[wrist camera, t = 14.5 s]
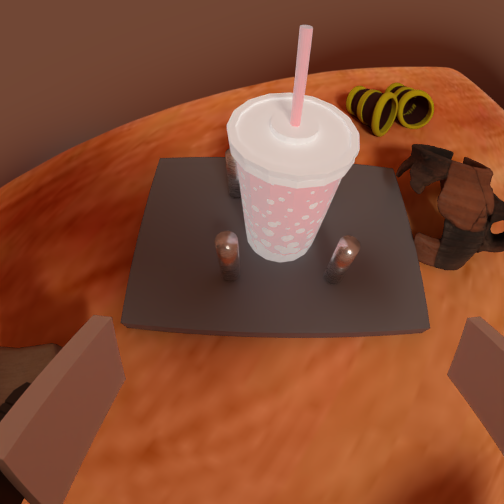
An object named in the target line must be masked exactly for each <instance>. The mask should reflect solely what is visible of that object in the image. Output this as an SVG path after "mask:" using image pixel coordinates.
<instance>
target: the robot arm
mask: <svg viewBox="0 0 504 504" xmlns="http://www.w3.org/2000/svg"><path fill="white" fill-rule="evenodd" d="M447 375H448V377H449V378H450V379H451V381H452V382H453V383H454V385H455V386H456V387H457V389H458V390H459V391H460V393H461V394H462V395H463V397H464V398H465V400H466V401H467V402H468V404H469V405H470V407H471V408H472V409H473V411H474V412H475V414H476V415H477V417H478V418H479V419H480V421H481V422H482V424H483V425H484V427H485V428H486V430H487V431H488V433H489V434H490V436H491V437H492V439H493V440H494V442H495V443H496V445H497V446H498V448H499V449H500V451H501V452H502V454H503V456H504V337H503V336H502V335H501V334H500V333H499V332H498V331H496V330H495V329H494V328H493V327H492V326H491V325H489V324H488V323H487V322H486V321H485V320H484V319H482V318H481V317H473V318H467V321H466V324H465V327H464V330H463V333H462V336H461V339H460V342H459V345H458V348H457V351H456V353H455V356H454V359H453V361H452V364H451V366H450V369H449V371H448V374H447ZM125 379H126V378H125V375H124V371H123V367H122V362H121V358H120V354H119V349H118V345H117V340H116V335H115V331H114V325H113V320H112V317H107V316H99V315H93V316H92V317H91V318H90V319H89V320H88V321H87V322H86V323H85V324H84V325H83V326H82V328H81V329H80V330H79V331H78V332H77V333H76V334H75V335H74V336H73V337H72V338H71V339H70V340H69V342H68V343H67V344H66V345H65V346H64V347H63V348H62V349H61V350H60V352H59V353H58V354H57V355H56V356H55V357H54V358H53V359H52V360H51V362H50V363H49V364H48V365H47V366H46V367H45V368H44V370H43V371H42V372H41V373H40V374H39V375H38V377H37V378H36V379H35V380H34V381H33V382H32V383H29V382H26V383H24V384H23V385H21V386H19V387H18V388H16V389H15V390H13V392H12V393H11V394H10V395H9V396H8V397H7V399H6V400H5V403H2V405H1V406H0V504H21V503H22V501H23V499H24V498H25V499H26V500H27V501H28V502H29V503H30V504H63V502H64V500H65V498H66V496H67V493H68V491H69V489H70V487H71V485H72V483H73V481H74V478H75V476H76V474H77V472H78V470H79V468H80V466H81V464H82V462H83V460H84V458H85V456H86V454H87V452H88V450H89V448H90V446H91V444H92V442H93V440H94V438H95V436H96V434H97V432H98V430H99V428H100V426H101V424H102V422H103V420H104V418H105V416H106V414H107V413H108V411H109V409H110V407H111V405H112V403H113V401H114V399H115V397H116V396H117V394H118V392H119V390H120V388H121V386H122V384H123V383H124V381H125Z"/></svg>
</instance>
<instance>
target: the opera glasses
mask: <svg viewBox="0 0 504 504" xmlns="http://www.w3.org/2000/svg"><path fill="white" fill-rule="evenodd" d="M346 109H347V111H348V112H349V113H350V114H352V115H355V116H356V117H357V118H359V120H360V121H361V122H362V123H364V124H365V125H369V126H370V127H371V128H372V131H373V133H374V135H376V136H378V137H380V136H383V135H384V134H386V133H387V132H388V130H389V129H390V128H391V126H392V124H393V122H394V120H395V117H396V116H397V118H398V120H399V122H400V123H401V124H402V125H403V126H404V127H406V128H409V129H418V128H421V127H423V126H424V125H426V124H427V123H428V122H429V121H430V119H431V118H432V116H433V113H434V104H433V101H432V99H431V97H430V96H429V95H428V94H427V93H426V92H424V91H422V90H414V89H413V88H410V87H406V86H404V85H403V84H401V83H393V84H391V85H390V86H389V87H388V88H387V89H386V91H385V93H384V94H383V93H381V92H380V91H378V90H372V89H371V90H370V89H366V88H365V87H363V86H356V87H354V88H353V89H352V90H351V91H350V93H349V94H348V97H347V100H346Z"/></svg>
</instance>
